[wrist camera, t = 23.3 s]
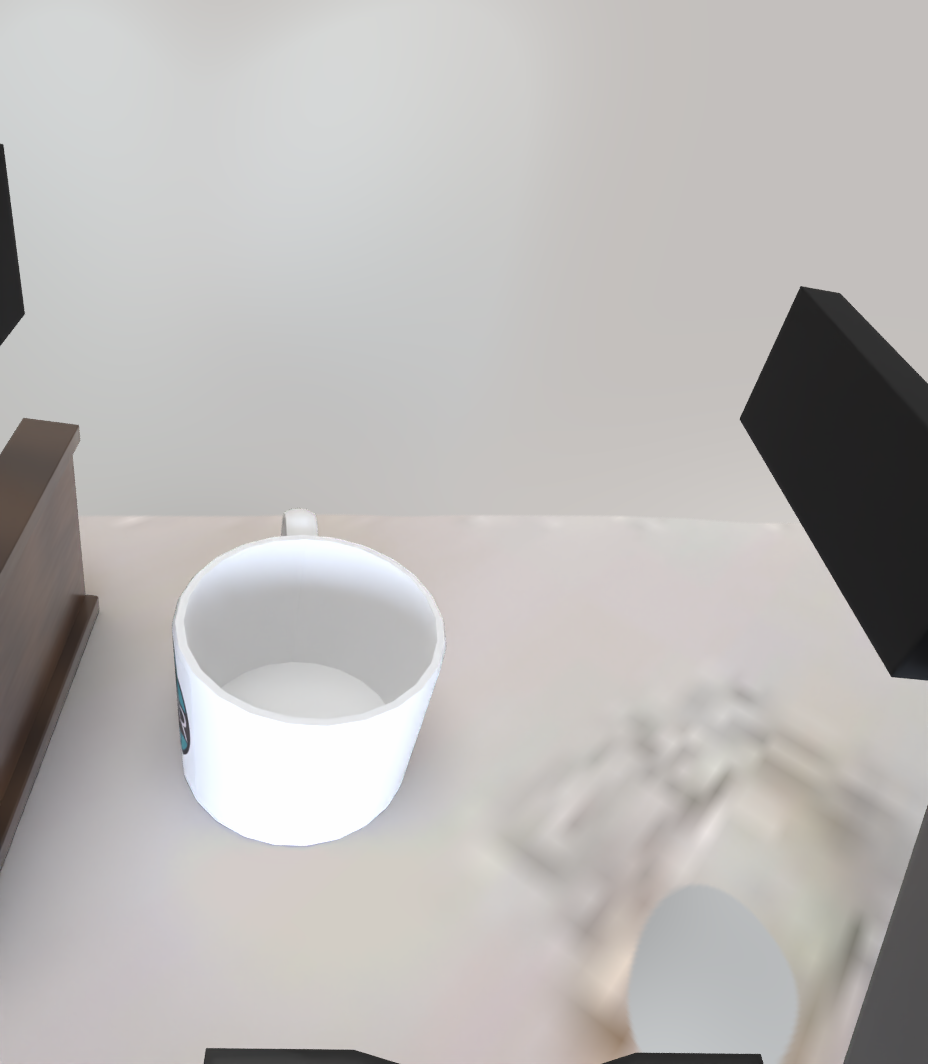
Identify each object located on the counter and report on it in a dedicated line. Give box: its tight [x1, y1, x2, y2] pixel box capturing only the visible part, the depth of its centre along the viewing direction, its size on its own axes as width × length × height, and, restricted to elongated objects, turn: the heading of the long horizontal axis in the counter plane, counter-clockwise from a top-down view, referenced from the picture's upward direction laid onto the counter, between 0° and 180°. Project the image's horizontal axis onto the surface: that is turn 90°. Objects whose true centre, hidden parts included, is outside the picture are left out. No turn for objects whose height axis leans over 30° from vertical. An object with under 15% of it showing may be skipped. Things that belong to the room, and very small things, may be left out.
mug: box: [172, 508, 446, 846], centre depth 37 cm, size 13×10×8 cm
